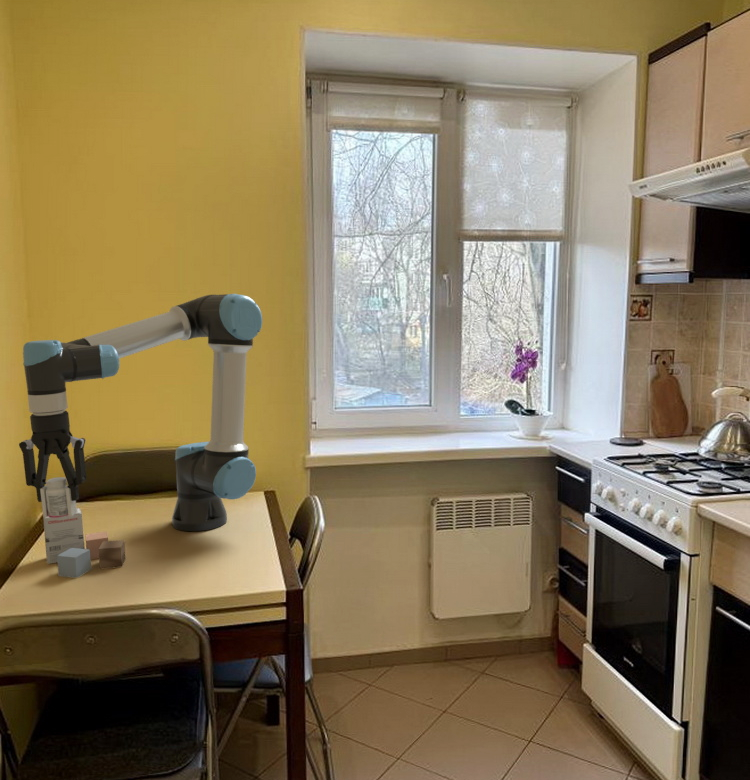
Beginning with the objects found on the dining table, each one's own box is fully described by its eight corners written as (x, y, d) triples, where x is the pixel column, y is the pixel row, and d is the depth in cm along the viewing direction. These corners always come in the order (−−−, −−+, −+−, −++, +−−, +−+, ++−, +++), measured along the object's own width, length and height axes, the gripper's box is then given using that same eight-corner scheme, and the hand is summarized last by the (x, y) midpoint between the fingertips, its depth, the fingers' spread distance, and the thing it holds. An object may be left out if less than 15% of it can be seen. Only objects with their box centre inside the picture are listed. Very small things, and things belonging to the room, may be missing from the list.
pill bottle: (53, 513, 150) (49, 477, 149) (75, 511, 151) (71, 475, 149) (45, 520, 146) (40, 483, 144) (67, 519, 146) (63, 482, 145)
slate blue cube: (91, 569, 159) (89, 549, 158) (77, 578, 154) (75, 557, 153) (73, 567, 160) (71, 547, 159) (58, 576, 155) (56, 555, 154)
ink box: (83, 551, 170) (80, 506, 168) (85, 558, 165) (82, 512, 164) (46, 557, 166) (42, 512, 164) (47, 564, 161) (43, 518, 160)
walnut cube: (125, 559, 165) (124, 539, 164) (122, 567, 160) (120, 547, 159) (104, 560, 164) (102, 541, 163) (99, 569, 159) (98, 548, 158)
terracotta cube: (107, 549, 171) (106, 531, 170) (109, 556, 167) (108, 537, 166) (86, 553, 169) (85, 534, 168) (87, 560, 164) (86, 540, 164)
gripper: (97, 407, 148) (106, 507, 152) (16, 410, 148) (28, 510, 152) (83, 413, 141) (94, 519, 145) (-2, 416, 141) (11, 522, 144)
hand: (60, 514), depth 148 cm, fingers closed on pill bottle, 5 cm apart
